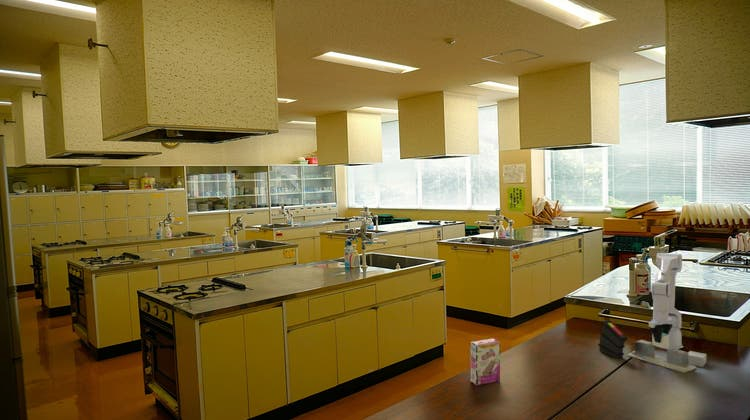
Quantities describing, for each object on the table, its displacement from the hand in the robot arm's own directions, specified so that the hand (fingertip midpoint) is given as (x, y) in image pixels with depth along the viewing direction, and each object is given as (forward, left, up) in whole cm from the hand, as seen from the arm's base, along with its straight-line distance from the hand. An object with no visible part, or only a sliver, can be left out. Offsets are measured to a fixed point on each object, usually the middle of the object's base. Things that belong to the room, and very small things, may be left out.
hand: (660, 341), depth 208 cm
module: (0, 0, -2) cm, 2 cm away
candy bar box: (+76, -26, -9) cm, 81 cm away
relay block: (-11, +9, -9) cm, 17 cm away
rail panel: (0, 0, -9) cm, 9 cm away
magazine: (+9, -16, -9) cm, 21 cm away
